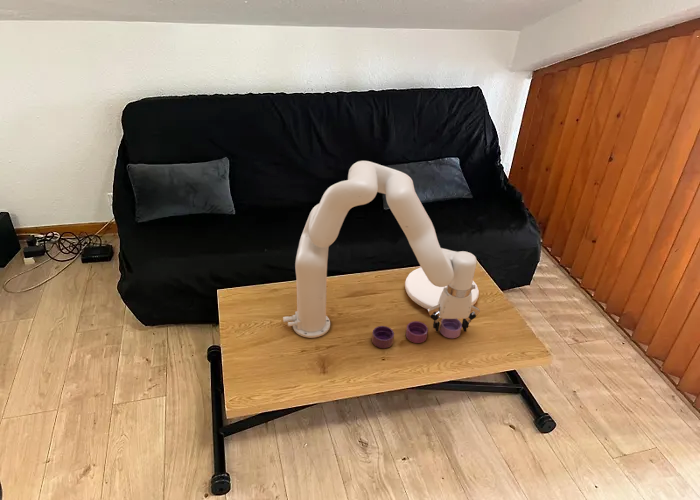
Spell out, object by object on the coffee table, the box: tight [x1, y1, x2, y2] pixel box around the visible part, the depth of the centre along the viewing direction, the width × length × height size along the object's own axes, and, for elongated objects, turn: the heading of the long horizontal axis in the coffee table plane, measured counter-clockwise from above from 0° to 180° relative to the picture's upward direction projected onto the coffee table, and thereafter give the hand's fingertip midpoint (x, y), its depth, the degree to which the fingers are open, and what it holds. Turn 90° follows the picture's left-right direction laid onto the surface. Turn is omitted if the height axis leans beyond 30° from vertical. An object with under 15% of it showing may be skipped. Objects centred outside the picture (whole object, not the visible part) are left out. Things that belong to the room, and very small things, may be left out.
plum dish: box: [405, 320, 429, 344], centre depth 162 cm, size 7×7×4 cm
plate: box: [404, 266, 480, 313], centre depth 182 cm, size 28×6×27 cm
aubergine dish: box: [371, 325, 395, 349], centre depth 160 cm, size 7×7×4 cm
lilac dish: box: [439, 319, 463, 339], centre depth 165 cm, size 7×7×4 cm
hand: (450, 329), depth 165 cm, fingers open, 9 cm apart
